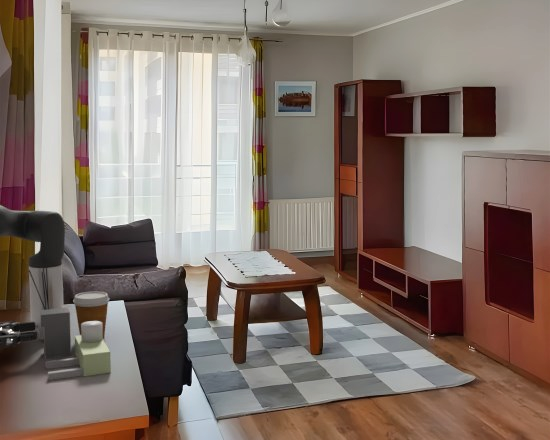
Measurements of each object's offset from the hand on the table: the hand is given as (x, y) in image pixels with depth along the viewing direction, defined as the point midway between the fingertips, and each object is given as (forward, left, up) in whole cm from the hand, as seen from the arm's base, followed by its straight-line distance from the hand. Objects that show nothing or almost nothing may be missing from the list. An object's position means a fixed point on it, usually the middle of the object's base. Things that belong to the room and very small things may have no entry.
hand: (36, 330), depth 155 cm
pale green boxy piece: (+11, +8, -7) cm, 15 cm away
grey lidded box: (0, +5, -7) cm, 8 cm away
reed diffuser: (-14, +3, -7) cm, 16 cm away
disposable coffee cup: (-10, +15, -7) cm, 19 cm away
